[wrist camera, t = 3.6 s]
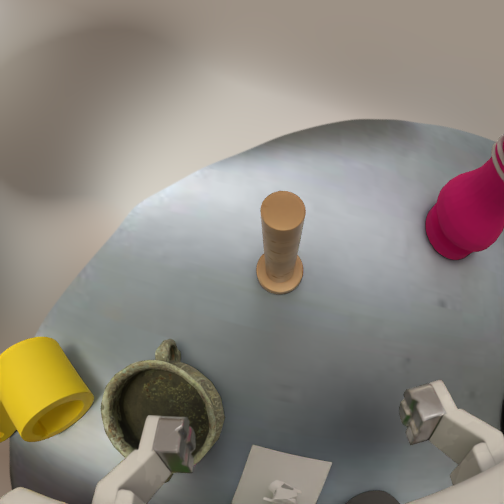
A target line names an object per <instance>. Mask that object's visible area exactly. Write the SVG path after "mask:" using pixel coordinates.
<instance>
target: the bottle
mask: <svg viewBox="0 0 504 504" xmlns="http://www.w3.org/2000/svg"><path fill="white" fill-rule="evenodd" d="M346 504H400V503H399V502H398V501H397V500H396V499H395V498H394V497H393V496H391V495H390V494H388V493H387V492H384V491H368V492H364V493H361V494H359V495H357V496H355V497H354V498H352V499H350V500H349V501H348V502H347V503H346Z"/></svg>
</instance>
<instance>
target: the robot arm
mask: <svg viewBox="0 0 504 504" xmlns="http://www.w3.org/2000/svg"><path fill="white" fill-rule="evenodd" d="M403 396H404V398H405V399H404V400H403V401H401V403H400V406H399V415H400V419H401V422H402V424H403V425H405V426H407V429H406V432H405V433H406V435H407V438H408V441H409V443H410V445H413V444H417V443H420V442H424V441H427V440H429V441H430V442H431V443H432V444H433V445H435V446H436V447H437V448H438V449H440V450H441V451H442V452H443V453H445V454H446V455H447V456H448V457H450V458H451V459H452V460H453V461H455V462H456V463H457V464H458V466H457V467H456V468H455V469H454V470H453V472H452V473H451V475H450V478H451V481H452V483H453V486H451V487H449V488H446V489H444V490H441V491H439V492H436V493H434V494H431V495H428V496H425V497H423V498H420V499H417V500H414V501H411V502H408V503H405V504H504V436H503V434H502V432H501V431H499V430H497V429H496V428H494V427H492V426H490V425H489V424H487V423H485V422H483V421H482V420H480V419H478V418H476V417H475V416H473V415H471V414H469V413H468V412H466V411H464V410H463V409H457V407H456V405H455V403H454V401H453V399H452V398H451V396H450V394H449V392H448V390H447V388H446V387H445V385H444V383H443V381H441V380H437V381H434V382H431V383H426V384H423V385H420V386H416V387H413V388H409V389H406V390H405V392H404V394H403ZM189 423H190V421H189V419H188V417H178V416H154V415H148V417H147V418H146V421H145V424H144V428H143V432H142V436H141V440H140V444H139V448H138V450H134V451H133V452H131V453H130V454H129V455H128V456H127V457H126V458H125V459H124V460H123V461H122V462H121V463H119V464H118V465H117V466H116V467H115V468H114V469H113V470H112V471H111V472H109V473H108V474H107V475H106V476H105V477H104V478H103V479H102V480H100V481H99V482H98V483H97V486H96V490H95V493H94V497H93V501H92V504H147V503H148V501H149V500H150V499H151V498H152V497H153V495H154V494H155V493H156V492H157V491H158V489H159V488H160V487H161V486H162V485H163V483H164V482H165V481H166V480H167V479H168V477H169V476H170V475H171V474H172V473H171V472H177V473H192V472H193V464H194V458H193V456H192V454H191V453H192V452H193V451H194V450H195V447H196V436H195V432H194V429H193V428H192V427H191V426H189ZM0 504H67V503H64V502H61V501H58V500H55V499H52V498H49V497H46V496H44V495H41V494H39V493H36V492H34V491H31V490H29V489H26V488H22V487H18V488H16V489H14V490H12V491H10V492H9V493H7V494H5V495H4V496H2V497H1V498H0Z"/></svg>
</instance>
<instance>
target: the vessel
mask: <svg viewBox="0 0 504 504" xmlns="http://www.w3.org/2000/svg"><path fill="white" fill-rule="evenodd" d="M180 360H181V353H180V351H179V350H178V349H177V346H176V343H175V341H173V340H172V339H168V340H165V341H163V342H162V344H161V345H160V346H159V347H158V348H157V350H156V353H155V360H146V361H140V362H136V363H133V364H130V365H129V366H127V367H126V368H124V369H123V370H121V371H120V372H118V373H117V374H115V376H114V377H113V378H112V379H111V381H110V382H109V383H108V384H107V386H106V388H105V391H104V395H103V398H102V402H101V414H102V420H103V424H104V429H105V432H106V434H107V436H108V438H109V439H110V441H111V443H112V444H113V446H114V447H115V448H116V449H117V450H118V451H119V452H120V453H121V454H122V455H123V456H124V457H125V458H126V457H127V456H128V455H129V454H130V453H131V452H133V451H134V450H138V448H139V444H140V440H141V436H142V432H143V428H144V424H145V421H146V418H147V417H148V415H154V416H178V417H188V419H189V421H190V423H189V426H191V427H192V428H193V429H194V432H195V436H196V447H195V450H194V451H193V452H192V453H191V454H192V456H193V458H194V464H193V465H195V464H196V463H198V462H199V461H200V460H201V459H202V458H203V457H204V456H205V454H206V453H207V452H208V451H209V450H210V448H211V447H212V446H213V445H214V444H215V442H216V441H217V440H218V439H219V436H220V433H221V429H222V426H223V422H224V419H225V416H224V411H223V406H222V401H221V397H220V395H219V394H218V392H217V390H216V389H215V387H214V385H213V384H212V382H211V381H210V380H209V379H207V378H206V377H205V376H204V375H203V374H201V373H200V372H199V371H198V370H197V369H195V368H193V367H191V366H189V365H188V364H185V363H182V362H180ZM171 473H172V474H171V475H170V476H169V477H168V479H167V480H166V481H165V482H164V483H166V482H168V481H169V480H170V479H171V477H172V475H173V473H177V472H171Z"/></svg>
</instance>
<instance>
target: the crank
mask: <svg viewBox="0 0 504 504" xmlns="http://www.w3.org/2000/svg"><path fill="white" fill-rule="evenodd" d="M93 400H94V396H93V394H92V393H91V391H90V390H89V389H88V387H87V386H86V384H85V383H84V382H83V380H82V379H81V377H80V376H79V374H78V373H77V372H76V370H75V369H74V367H73V366H72V364H71V363H70V361H69V360H68V358H67V357H66V355H65V353H64V352H63V350H62V349H61V347H60V345H59V344H58V342H57V341H55V340H54V339H52V338H48V337H35V338H30V339H26V340H24V341H21V342H19V343H17V344H15V345H13V346H11V347H10V348H8V349H7V350H6V351H4V352H3V353H2V354H1V355H0V442H2V441H5V440H6V439H8V438H9V437H10V436H11V435H12V434H13V433H14V432H15V430H16V429H17V431H18V432H19V434H20V435H21V437H22V439H23V440H25V441H27V442H36V441H41V440H44V439H47V438H50V437H52V436H54V435H56V434H58V433H60V432H62V431H64V430H65V429H67V428H68V427H70V426H71V425H73V424H74V423H75V422H76V421H78V420H79V419H80V418H81V417H82V416H83V415H84V414H85V413H86V412H87V411H88V409H89V408H90V407H91V405H92V403H93Z"/></svg>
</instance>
